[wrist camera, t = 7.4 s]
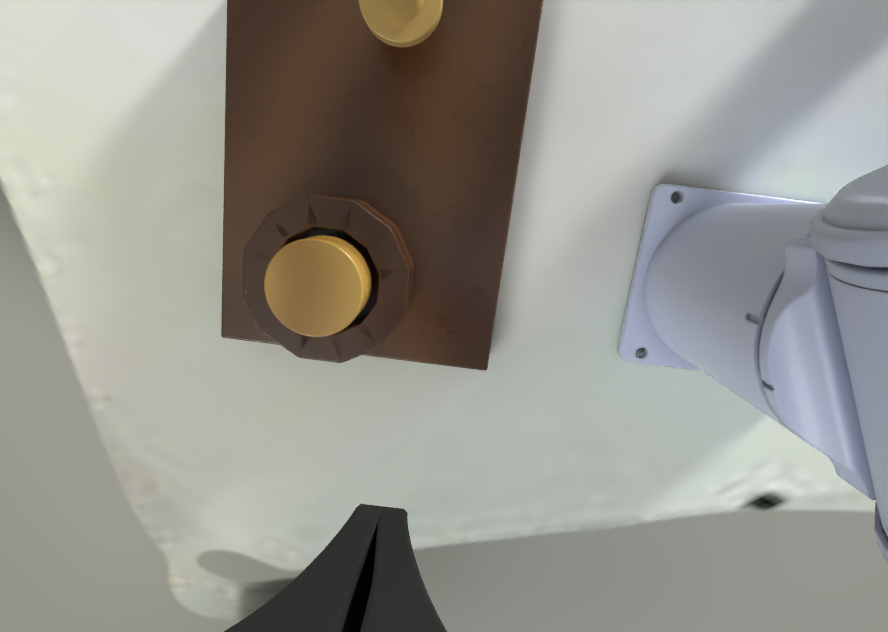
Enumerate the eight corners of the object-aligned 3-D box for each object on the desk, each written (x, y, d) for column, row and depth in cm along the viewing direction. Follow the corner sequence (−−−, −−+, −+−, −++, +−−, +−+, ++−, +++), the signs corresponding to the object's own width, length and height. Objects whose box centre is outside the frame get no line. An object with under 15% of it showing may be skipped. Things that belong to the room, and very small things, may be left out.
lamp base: (537, 12, 20) (554, -28, 16) (485, 360, 23) (490, 388, 20) (244, -26, 20) (199, -74, 16) (235, 329, 23) (197, 351, 20)
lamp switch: (376, 241, 19) (367, 245, 17) (368, 329, 20) (359, 343, 18) (284, 229, 19) (265, 232, 17) (280, 318, 20) (261, 331, 18)
